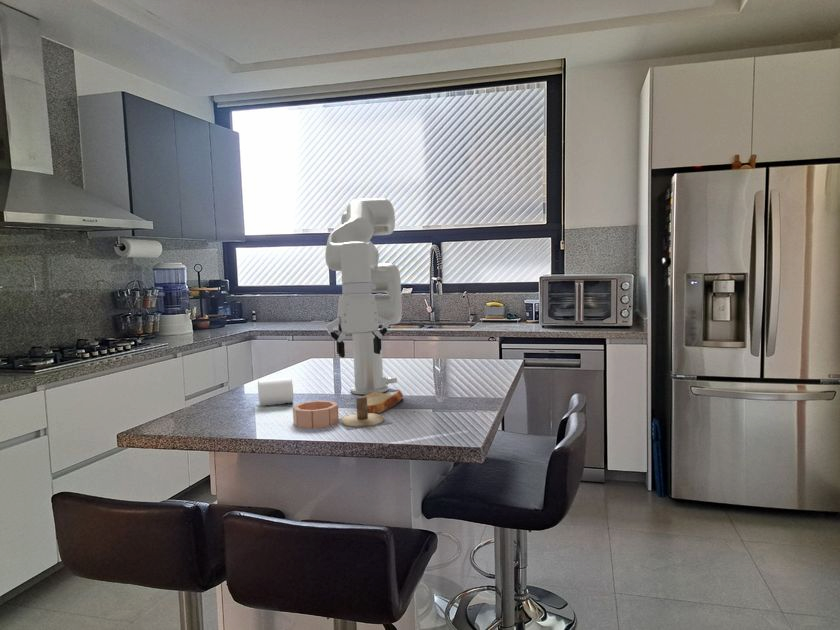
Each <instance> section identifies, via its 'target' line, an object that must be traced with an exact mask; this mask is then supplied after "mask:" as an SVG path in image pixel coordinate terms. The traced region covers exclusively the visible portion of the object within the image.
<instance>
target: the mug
mask: <svg viewBox="0 0 840 630" xmlns="http://www.w3.org/2000/svg"><path fill="white" fill-rule="evenodd" d="M293 385H294V384H293V379H292V377H291V376H290V377H281V378H269V379H259V380H257V391H258V392H257V393H258V394H257V395H258V404H259V407H266V406H265V405H269V406H276V405H275V404H278V405H286V404H285V403H288V404H293V403H294V386H293Z"/></svg>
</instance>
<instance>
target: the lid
mask: <svg viewBox="0 0 840 630" xmlns="http://www.w3.org/2000/svg"><path fill="white" fill-rule="evenodd" d="M355 400H356V413H354V414H349V415H346V416H344V417H342V424H343V425H345V426H350V427H367V426H373V425H377V424H380V423H382V422H383V418H384V416H383V415H381V414H380V413H378V414H374V413H368V409H367V397H365V395H362V396H357V397H356V398H355ZM373 427H374V426H373ZM367 428H368V427H367Z"/></svg>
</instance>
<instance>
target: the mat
mask: <svg viewBox="0 0 840 630" xmlns="http://www.w3.org/2000/svg"><path fill="white" fill-rule="evenodd" d="M342 418H343V417H342ZM342 418H339V421H338V422H337V423H338V424H339V425H340V426H341V427H343V429H345V430H347V431H353V430H358V429H365V428H373V427H380V426H386V425H392V424H393V423H392V421H389V420H388V419H386V418H385V417H383V422H382V423H380V424H377V425H373V426H367V427H350V426H345V425H343V424H342Z"/></svg>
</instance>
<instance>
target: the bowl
mask: <svg viewBox="0 0 840 630" xmlns="http://www.w3.org/2000/svg"><path fill="white" fill-rule="evenodd" d="M292 416H293V417H292V419H293V425H294V426H295V427H296V428H302V429H303V428H304V429H319V428H324V427H325V428H326V427H331V426H333V425H335V424H337V423H338V421H339V419H340V418H339V404H338V403H337V402H335V401H333V400H332V401H331V400H312V401H311V400H310V401H305V402H300V403H298V404H295V405H292Z"/></svg>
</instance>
